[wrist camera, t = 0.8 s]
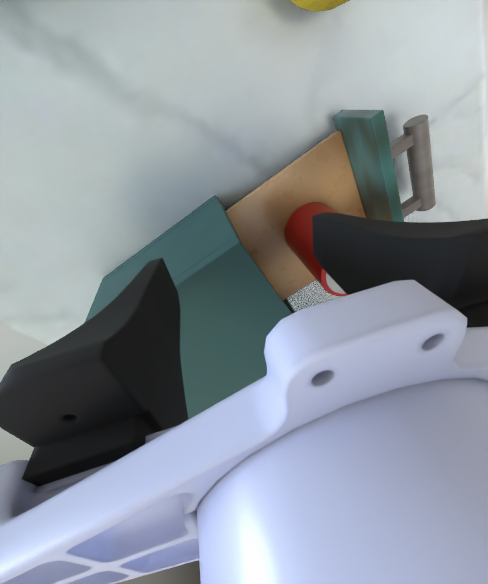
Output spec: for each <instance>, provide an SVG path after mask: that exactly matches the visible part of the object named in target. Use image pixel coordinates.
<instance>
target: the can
mask: <svg viewBox="0 0 488 584" xmlns="http://www.w3.org/2000/svg"><path fill="white" fill-rule="evenodd" d="M324 212H331V213H339V214H341V213H340V212H338V211H336V210H335V209H333V208H331V207H330V206H328V205H326V204H324V203H321V202H311V203H307V204H305V205H303V206H301V207H299V208H298V209H297V210H296V211H295V212H294V213H293V214H292V215H291V217H290V218H289V220H288V222H287V224H286V227H285V241H286V243H287V245H288V247H289V248H290V249H291V250H292V252H293V253H294V254H295V255H296V256H297V257H298V259H299V260H300V261H301V262H302V263H303V264H304V266H305V267H306V268H307V269H308V270H309V271H310V273H311V274H312V275H313V276H314V277H315V279H316V280H317V281H318V282H319V283H320V284H321V286H322V287H323V288H324V289H325V290H326V291H327V292H328V293H330V294H332V295H336V296H347V294H346V293H345V292H344V291H343V290H342V289H341V287H340V286H339V285H338V284H337V283H336V282H335V281H334V280H333V279H332V278H331V277H330V276H329V275H328V274H327V272H326V271H325V270H324V269H323V268H322V267H321V265H320V264H319V262H318V261H317V259H316V258H315V256H314V254H313V232H312V216H313V215H317V214H320V213H324Z"/></svg>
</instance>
